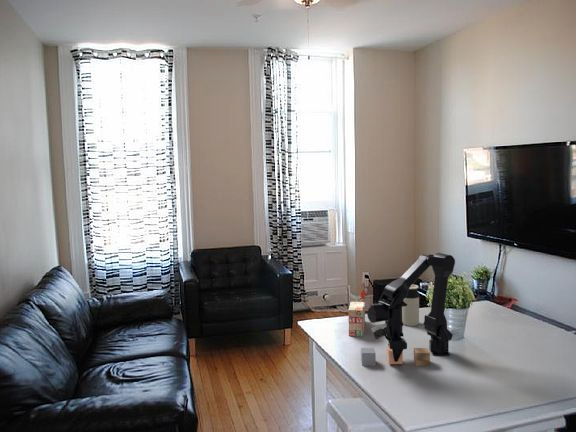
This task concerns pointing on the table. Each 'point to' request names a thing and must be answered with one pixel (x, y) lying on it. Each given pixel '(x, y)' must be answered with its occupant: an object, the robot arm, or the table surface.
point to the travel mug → (411, 307)
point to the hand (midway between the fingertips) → (394, 358)
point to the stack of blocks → (356, 318)
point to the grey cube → (368, 357)
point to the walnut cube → (421, 357)
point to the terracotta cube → (391, 358)
